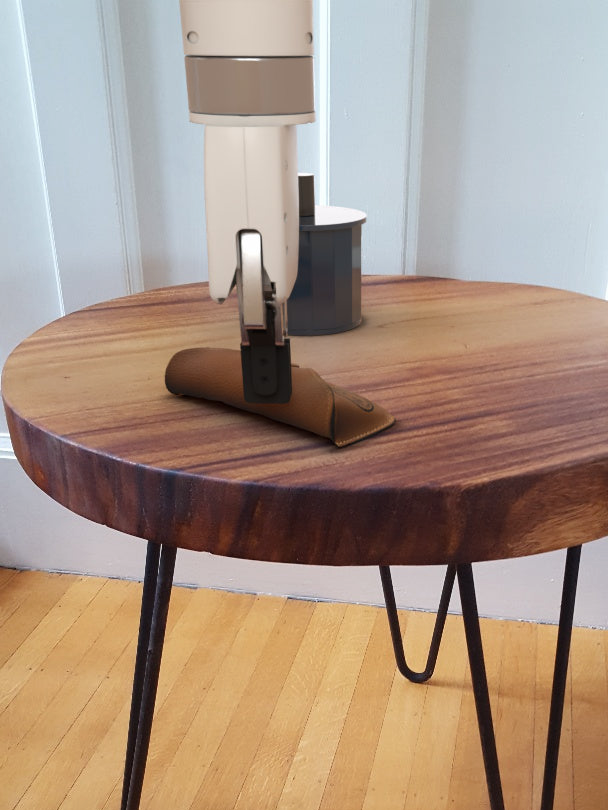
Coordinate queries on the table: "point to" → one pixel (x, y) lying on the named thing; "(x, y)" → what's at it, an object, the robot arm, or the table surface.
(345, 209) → the pot lid
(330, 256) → the pot
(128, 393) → the table surface
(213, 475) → the table surface
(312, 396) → the sunglasses case
